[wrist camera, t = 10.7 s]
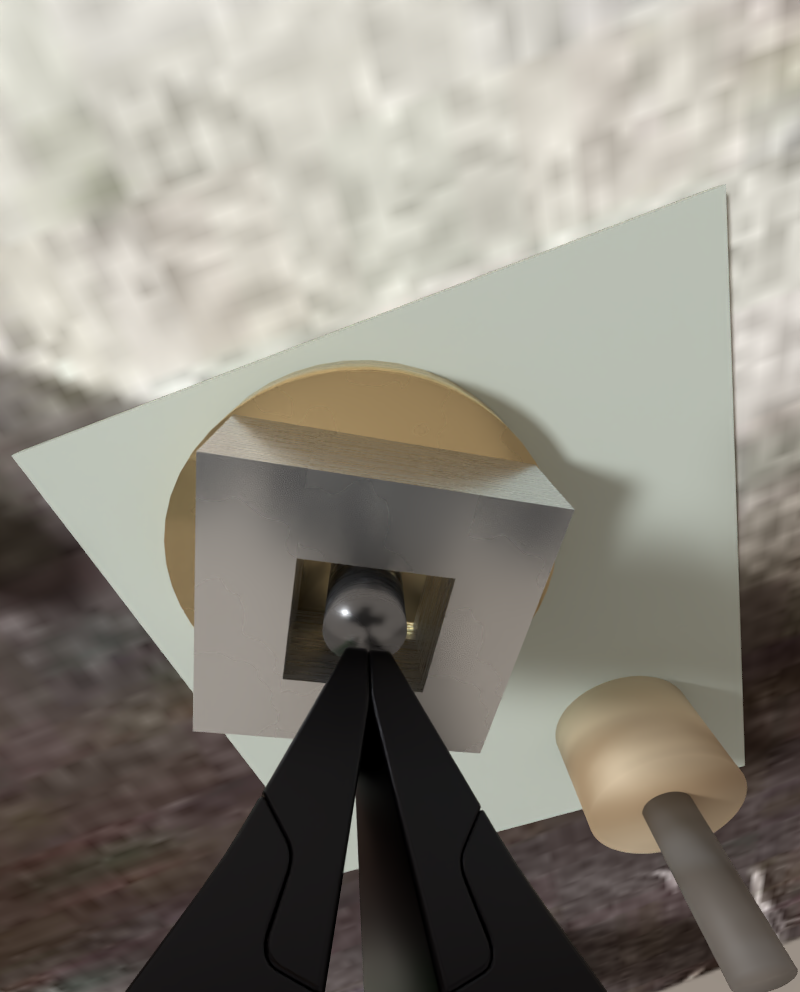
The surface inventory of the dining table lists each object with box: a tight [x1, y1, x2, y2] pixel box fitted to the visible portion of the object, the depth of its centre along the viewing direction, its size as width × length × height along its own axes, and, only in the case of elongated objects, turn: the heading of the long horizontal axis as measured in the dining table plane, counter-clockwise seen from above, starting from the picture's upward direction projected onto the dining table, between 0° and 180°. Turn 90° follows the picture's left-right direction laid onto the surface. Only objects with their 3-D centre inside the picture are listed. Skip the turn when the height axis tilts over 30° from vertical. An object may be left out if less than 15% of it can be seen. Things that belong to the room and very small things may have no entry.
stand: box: [555, 676, 798, 992], centre depth 14 cm, size 5×5×7 cm
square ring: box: [193, 414, 574, 753], centre depth 11 cm, size 7×7×2 cm
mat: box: [12, 184, 745, 873], centre depth 16 cm, size 21×18×1 cm
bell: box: [164, 360, 555, 657], centre depth 12 cm, size 10×10×4 cm
